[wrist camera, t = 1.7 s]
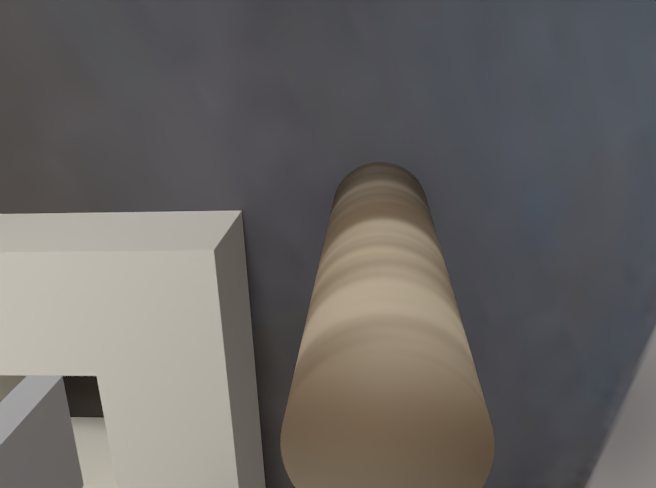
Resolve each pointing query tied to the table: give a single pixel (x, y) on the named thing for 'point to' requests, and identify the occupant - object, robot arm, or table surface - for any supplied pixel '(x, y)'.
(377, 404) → the dowel
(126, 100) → the table surface
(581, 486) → the table surface
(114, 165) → the table surface
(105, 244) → the socket block
